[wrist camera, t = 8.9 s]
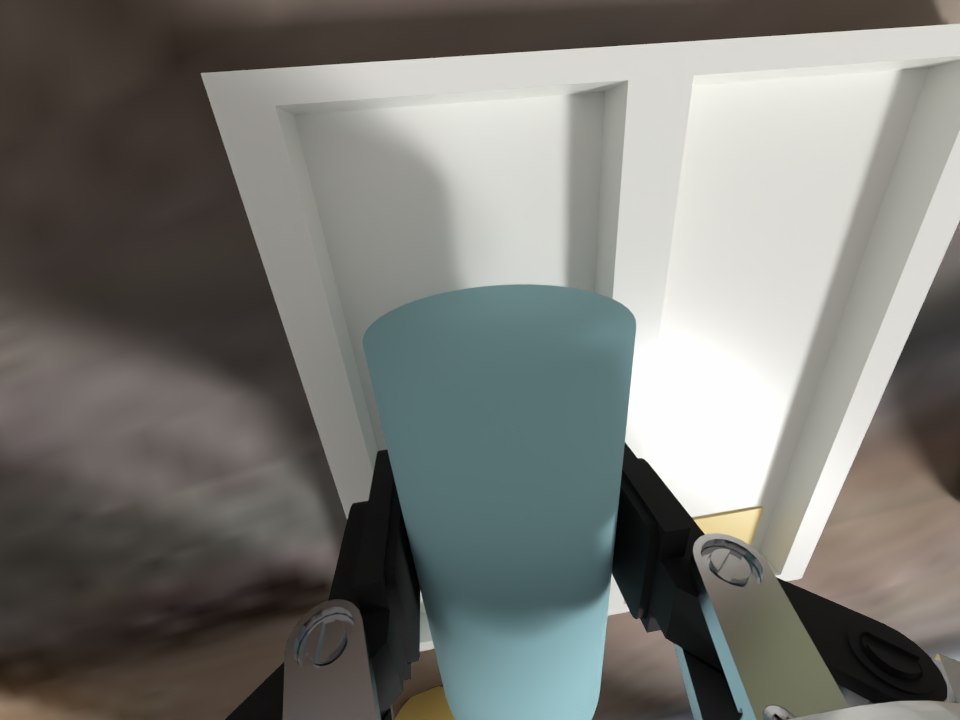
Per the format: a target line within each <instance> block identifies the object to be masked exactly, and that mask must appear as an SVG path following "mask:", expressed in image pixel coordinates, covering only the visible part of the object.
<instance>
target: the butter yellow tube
mask: <svg viewBox="0 0 960 720" xmlns="http://www.w3.org/2000/svg"><path fill="white" fill-rule="evenodd" d="M395 720H455V718H454V716H453V714H452V712H451V710H450V708H449V705H448V702H447V699H446V696H445V692H444V687H441V686H437V687H434V688H432V689H430V690H427V691H425V692H422V693H420V694H417V695H415V696H413V697H411V698H410V699H409V700H408V701H407V702H406V703H405V704H404V706H403V707H402V708H401V710H400V711H399V713H398V714H397V716H396V718H395Z"/></svg>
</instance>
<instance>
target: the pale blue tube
mask: <svg viewBox="0 0 960 720" xmlns="http://www.w3.org/2000/svg"><path fill="white" fill-rule="evenodd" d="M635 335H636V319H635V317H634V315H633V313H632V312H631V311H630V310H629V309H628V308H627V307H625V306H624V305H623V304H621V303H619V302H618V301H616V300H614V299H612V298H609V297H607V296H604V295H601V294H598V293H594V292H590V291H586V290H582V289H576V288H570V287H562V286H552V285H535V284H513V285H494V286H483V287H475V288H467V289H461V290H455V291H450V292H445V293H441V294H437V295H433V296H429V297H425V298H422V299H419V300H416V301H413V302H410V303H407V304H405V305H403V306H400V307H398V308H396V309H394V310H392V311H390V312H388V313H386V314H385V315H383V316H381V317H380V318H378V319H377V320H376V321H375V322H373V323H372V324H371V325H370V327H369V328H368V329H367V330H366V332H365V334H364V337H363V341H362V342H363V349H364V353H365V357H366V361H367V366H368V370H369V374H370V378H371V382H372V387H373V391H374V395H375V399H376V404H377V408H378V412H379V416H380V421H381V425H382V429H383V433H384V438H385V442H386V446H387V450H388V454H389V459H390V463H391V467H392V471H393V476H394V480H395V484H396V488H397V493H398V497H399V501H400V505H401V510H402V514H403V518H404V522H405V526H406V531H407V535H408V539H409V543H410V548H411V552H412V556H413V560H414V565H415V569H416V573H417V577H418V582H419V586H420V590H421V594H422V598H423V603H424V607H425V611H426V615H427V620H428V624H429V628H430V632H431V637H432V641H433V645H434V649H435V654H436V658H437V662H438V666H439V670H440V675H441V679H442V683H443V687H444V692H445V696H446V699H447V702H448V705H449V708H450V710H451V712H452V714H453V716H454V718H455V720H592V718H593V715H594V713H595V710H596V707H597V703H598V699H599V693H600V686H601V676H602V666H603V656H604V646H605V636H606V626H607V616H608V606H609V596H610V586H611V576H612V566H613V556H614V546H615V535H616V525H617V515H618V505H619V495H620V485H621V475H622V465H623V455H624V445H625V435H626V425H627V415H628V405H629V395H630V385H631V375H632V365H633V355H634V345H635Z"/></svg>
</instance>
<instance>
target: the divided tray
mask: <svg viewBox="0 0 960 720" xmlns="http://www.w3.org/2000/svg"><path fill="white" fill-rule="evenodd" d="M201 76H202V79H203V83H204V86H205V89H206V92H207V95H208V98H209V101H210V104H211V107H212V110H213V113H214V116H215V119H216V122H217V125H218V128H219V131H220V134H221V137H222V140H223V143H224V147H225V150H226V153H227V156H228V159H229V162H230V165H231V168H232V171H233V174H234V177H235V180H236V183H237V186H238V189H239V192H240V195H241V198H242V201H243V204H244V207H245V211H246V214H247V217H248V220H249V223H250V226H251V229H252V232H253V235H254V238H255V241H256V244H257V247H258V250H259V253H260V256H261V259H262V262H263V265H264V268H265V272H266V275H267V278H268V281H269V284H270V287H271V290H272V293H273V296H274V299H275V302H276V305H277V308H278V311H279V314H280V317H281V320H282V323H283V326H284V329H285V332H286V336H287V339H288V342H289V345H290V348H291V351H292V354H293V357H294V360H295V363H296V366H297V369H298V372H299V375H300V378H301V381H302V384H303V387H304V390H305V393H306V396H307V400H308V403H309V406H310V409H311V412H312V415H313V418H314V421H315V424H316V427H317V430H318V433H319V436H320V439H321V442H322V445H323V448H324V451H325V454H326V457H327V461H328V464H329V467H330V470H331V473H332V476H333V479H334V482H335V485H336V488H337V491H338V494H339V497H340V500H341V503H342V506H343V509H344V512H345V515H346V518H347V519H348V515H349V511H350V508H351V505H352V504H353V503H357V502H364V501H368V499H369V494H370V489H371V483H372V478H373V472H374V467H375V461H376V456H377V452H378V451H380V450H387V446H386V442H385V438H384V433H383V429H382V425H381V421H380V416H379V412H378V408H377V404H376V399H375V395H374V391H373V387H372V382H371V378H370V374H369V370H368V366H367V361H366V357H365V353H364V349H363V342H362V341H363V337H364V334H365V332H366V330H367V329H368V328H369V327H370V325H371V324H372V323H373V322H375V321H376V320H377V319H378V318H380V317H381V316H383V315H385V314H386V313H388V312H390V311H392V310H394V309H396V308H398V307H400V306H403V305H405V304H407V303H410V302H413V301H416V300H419V299H422V298H425V297H429V296H433V295H437V294H441V293H445V292H450V291H455V290H461V289H467V288H475V287H483V286H494V285H513V284H535V285H552V286H562V287H570V288H576V289H582V290H586V291H590V292H594V293H598V294H601V295H604V296H607V297H609V298H612V299H614V300H616V301H618V302H619V303H621V304H623V305H624V306H625V307H627V308H628V309H629V310H630V311H631V312H632V313H633V315H634V317H635V319H636V335H635V345H634V355H633V365H632V375H631V385H630V395H629V405H628V415H627V425H626V435H625V443H626V444H627V445H628V446H629V448H630V449H631V450H632V452H633V453H634V454H635V456H636V457H637V458H643V459H645V460H646V461H647V462H648V463H649V464H650V466H651V467H652V468H653V469H654V471H655V472H656V473H657V474H658V476H659V477H660V478H661V479H662V481H663V482H664V483H665V485H666V486H667V487H668V488H669V490H670V491H671V492H672V493H673V495H674V496H675V497H676V498H677V500H678V501H679V502H680V503H681V505H682V506H683V507H684V508H685V510H686V511H687V512H688V514H689V515H690V516H691V517H692V519H693V520H694V521H695V522H696V524H697V525H698V526H699V527H700V529H701V530H702V531H703V532H704V534H705V535H706V534H711V533H720V534H725V535H730V536H732V537H735V538H738V539H740V540H742V541H744V542H745V543H747V544H749V545H750V546H752V547H753V548H754V549H755V550H757V551H758V552H759V553H760V554H761V555H762V556H763V557H764V559H765V560H766V561H767V563H768V564H769V566H770V568H771V569H772V571H773V573H774V575H775V576H776V577H777V578H779V579H781V580H784V581H791V580H796V579H801V578H802V576H803V574H804V571H805V569H806V567H807V565H808V562H809V560H810V558H811V556H812V553H813V551H814V549H815V547H816V544H817V542H818V540H819V537H820V535H821V533H822V531H823V528H824V526H825V524H826V522H827V519H828V517H829V515H830V513H831V510H832V508H833V506H834V504H835V501H836V499H837V497H838V494H839V492H840V490H841V488H842V485H843V483H844V481H845V479H846V476H847V474H848V472H849V470H850V467H851V465H852V463H853V461H854V458H855V456H856V454H857V451H858V449H859V447H860V445H861V442H862V440H863V438H864V436H865V433H866V431H867V429H868V427H869V424H870V422H871V420H872V418H873V415H874V413H875V411H876V408H877V406H878V404H879V402H880V399H881V397H882V395H883V393H884V390H885V388H886V386H887V384H888V381H889V379H890V377H891V375H892V372H893V370H894V368H895V366H896V363H897V361H898V359H899V356H900V354H901V352H902V350H903V347H904V345H905V343H906V341H907V338H908V336H909V334H910V332H911V329H912V327H913V325H914V323H915V320H916V318H917V316H918V313H919V311H920V309H921V307H922V304H923V302H924V300H925V298H926V295H927V293H928V291H929V289H930V286H931V284H932V282H933V280H934V277H935V275H936V273H937V270H938V268H939V266H940V264H941V261H942V259H943V257H944V255H945V252H946V250H947V248H948V246H949V243H950V241H951V239H952V237H953V234H954V232H955V230H956V228H957V225H958V223H959V221H960V24H949V25H933V26H918V27H902V28H887V29H872V30H856V31H841V32H825V33H810V34H795V35H779V36H764V37H748V38H733V39H718V40H702V41H687V42H671V43H656V44H641V45H625V46H610V47H594V48H579V49H564V50H548V51H533V52H517V53H502V54H487V55H471V56H456V57H440V58H425V59H410V60H394V61H379V62H363V63H348V64H333V65H317V66H302V67H286V68H271V69H256V70H240V71H225V72H210V73H201ZM624 612H629V609H628V606H627V604H626V602H625V600H624V598H623V596H622V594H621V592H620V590H619V587H618V585H617V583H616V581H615V579H614V577H613V575H612V576H611V586H610V596H609V606H608V615H613V614H618V613H624ZM430 649H434V645H433V641H432V637H431V632H430V628H429V624H428V620H427V615H426V611H425V607H424V603H423V598H422V594H421V590H420V651H425V650H430Z"/></svg>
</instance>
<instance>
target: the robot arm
mask: <svg viewBox="0 0 960 720" xmlns="http://www.w3.org/2000/svg"><path fill="white" fill-rule="evenodd" d="M612 575H613V577H614V579H615V581H616V583H617V585H618V587H619V590H620V592H621V594H622V596H623V598H624V600H625V602H626V604H627V606H628V609H629V611H630V613H631V614H632V616H633V617H634V618H635V619H638V618H640V619H641V621H642V623H643V625H644V627H645V629H646V631H647V632H652V631H657V630H662V632H663V634H664V636H665V638H666V639H668V640H670V641H671V642H673V643H674V647H675V651H676V655H677V658H678V662H679V666H680V670H681V673H682V677H683V681H684V684H685V688H686V692H687V695H688V699H689V703H690V706H691V710H692V714H693V718H694V720H960V662H959V661H957V660H954V659H951V658H949V657H946V656H943V655H941V654H938V655H937V656H936V657H935V659H934V658H932V657H929V656H928V655H927V654H926V653H925V652H924V651H923V650H922V649H921V648H920V647H919V646H918V645H917V644H915V643H914V642H913V641H911V640H910V639H908V638H907V637H906V636H904V635H903V634H901V633H900V632H898V631H896V630H894V629H893V628H891V627H889V626H887V625H885V624H883V623H881V622H878V621H876V620H874V619H871V618H869V617H867V616H865V615H862V614H860V613H858V612H855V611H853V610H851V609H848V608H846V607H844V606H841V605H839V604H837V603H835V602H832V601H830V600H828V599H825V598H823V597H821V596H818V595H816V594H814V593H811V592H809V591H807V590H805V589H802V588H800V587H798V586H795V585H793V584H791V583H788V582H786V581H784V580H781V579H779V578H777V577H776V576H775V575H774V573H773V571H772V569H771V568H770V566H769V564H768V563H767V561H766V560H765V559H764V557H763V556H762V555H761V554H760V553H759V552H758V551H757V550H755V549H754V548H753V547H752V546H750V545H749V544H747V543H745V542H744V541H742V540H740V539H738V538H735V537H732V536H730V535H725V534H720V533H711V534H706V535H705V534H704V532H703V531H702V530H701V529H700V527H699V526H698V525H697V524H696V522H695V521H694V520H693V519H692V517H691V516H690V515H689V514H688V512H687V511H686V510H685V508H684V507H683V506H682V505H681V503H680V502H679V501H678V500H677V498H676V497H675V496H674V495H673V493H672V492H671V491H670V490H669V488H668V487H667V486H666V485H665V483H664V482H663V481H662V479H661V478H660V477H659V476H658V474H657V473H656V472H655V471H654V469H653V468H652V467H651V466H650V464H649V463H648V462H647V461H646V460H645V459H643V458H637V457H636V456H635V454H634V453H633V452H632V450H631V449H630V448H629V446H628V445H627V444H626V443H625V445H624V455H623V465H622V475H621V485H620V495H619V505H618V515H617V525H616V535H615V546H614V556H613V566H612ZM419 654H420V586H419V582H418V577H417V573H416V569H415V565H414V560H413V556H412V552H411V548H410V543H409V539H408V535H407V531H406V526H405V522H404V518H403V514H402V510H401V505H400V501H399V497H398V493H397V488H396V484H395V480H394V476H393V471H392V467H391V463H390V459H389V454H388V450H380V451H378V452H377V456H376V461H375V467H374V472H373V478H372V483H371V489H370V494H369V499H368V501H364V502H357V503H353V504H352V505H351V508H350V511H349V515H348V519H347V524H346V528H345V532H344V537H343V541H342V545H341V549H340V554H339V558H338V562H337V566H336V571H335V575H334V579H333V584H332V588H331V592H330V596H329V601H327V602H323V603H321V604H320V605H318V606H316V607H314V608H313V609H311V610H310V611H309V612H308V613H307V614H306V615H304V616H303V617H302V618H301V619H300V621H299V622H298V623H297V625H296V626H295V627H294V629H293V630H292V632H291V635H290V637H289V639H288V641H287V645H286V651H285V662H284V663H283V664H282V665H281V666H280V667H279V668H278V669H276V670H275V671H274V672H273V673H272V674H271V675H270V676H269V677H268V678H267V679H266V680H265V681H264V682H263V683H262V684H261V685H260V686H259V687H258V688H257V689H256V690H255V691H254V692H253V693H252V694H251V695H250V696H249V697H248V698H247V699H246V700H245V701H244V702H243V703H242V704H241V705H239V706H238V707H237V708H236V709H235V710H234V711H233V712H232V713H231V714H230V715H229V716H228V717H227V718H226V719H225V720H395V717H394V712H393V706H392V704H393V703H394V701H395V700H396V699H397V697H398V696H399V695H400V693H401V692H402V691H403V680H407V679H411V662H414V661H419Z"/></svg>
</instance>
